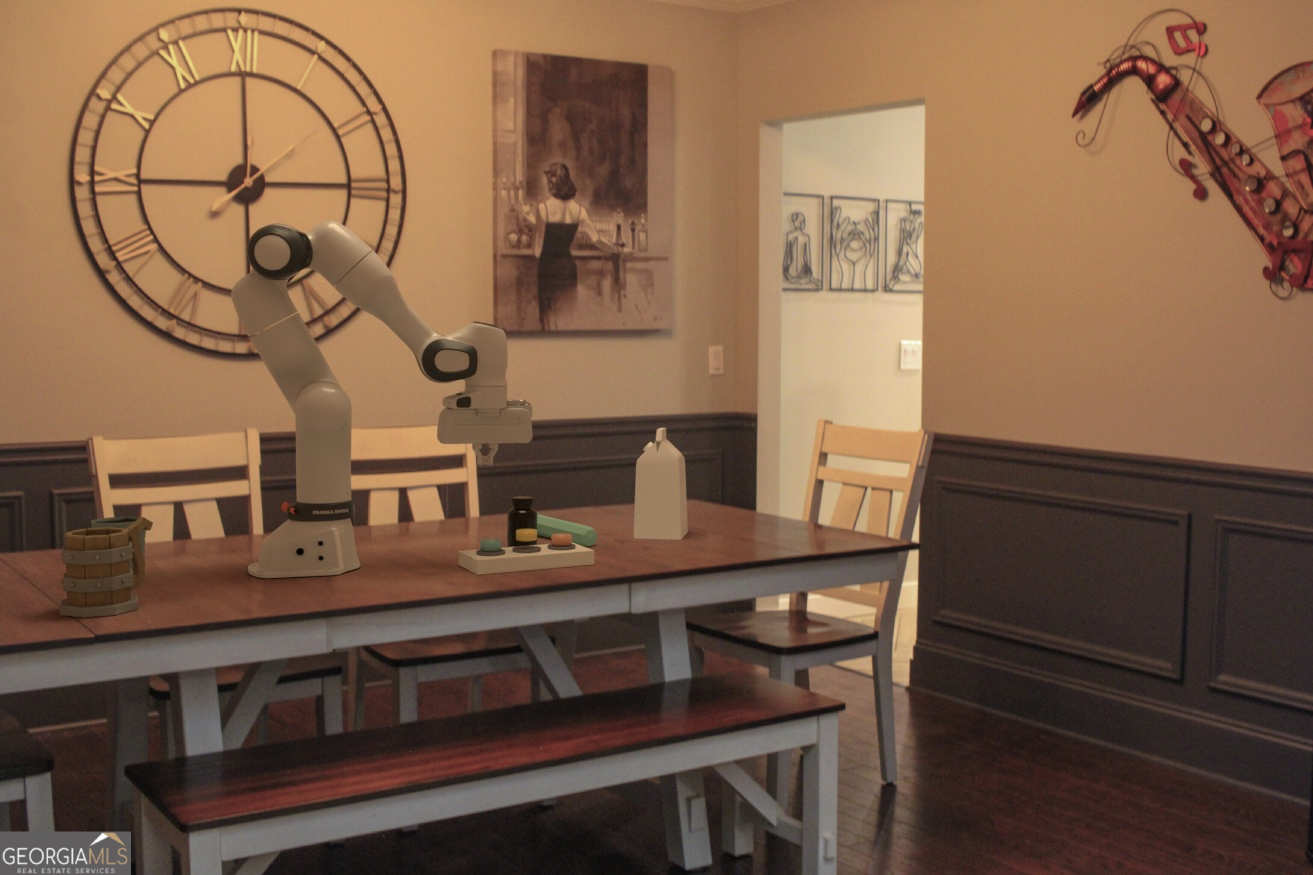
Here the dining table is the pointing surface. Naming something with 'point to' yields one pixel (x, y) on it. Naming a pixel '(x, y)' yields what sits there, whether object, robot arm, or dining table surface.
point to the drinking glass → (121, 523)
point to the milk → (660, 492)
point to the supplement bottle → (520, 520)
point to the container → (566, 530)
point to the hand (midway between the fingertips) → (484, 464)
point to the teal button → (490, 545)
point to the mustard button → (526, 534)
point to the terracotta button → (561, 539)
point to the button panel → (525, 558)
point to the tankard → (102, 570)
